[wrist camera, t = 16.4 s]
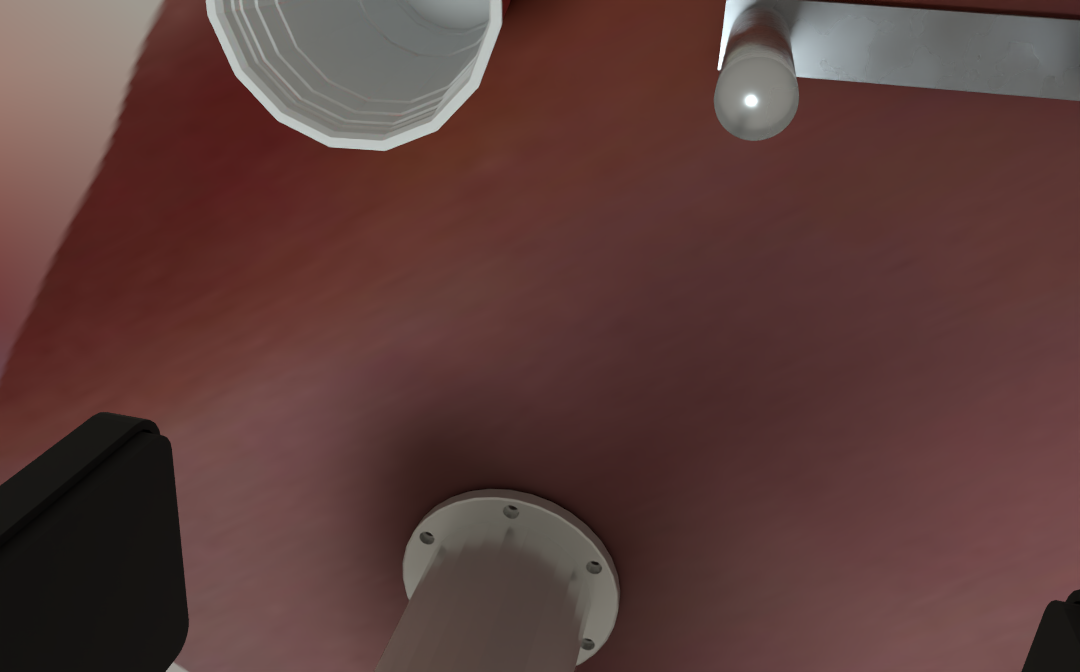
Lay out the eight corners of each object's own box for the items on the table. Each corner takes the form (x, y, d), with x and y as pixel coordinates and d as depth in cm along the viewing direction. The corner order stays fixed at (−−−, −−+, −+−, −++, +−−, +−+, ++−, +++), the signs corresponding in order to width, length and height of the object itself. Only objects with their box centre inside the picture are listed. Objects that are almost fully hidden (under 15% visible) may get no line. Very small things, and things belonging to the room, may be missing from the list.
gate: (1147, 103, 38) (1333, 208, 26) (718, 67, 41) (697, 145, 28) (1173, 25, 37) (1381, 95, 24) (727, -7, 40) (710, 41, 27)
